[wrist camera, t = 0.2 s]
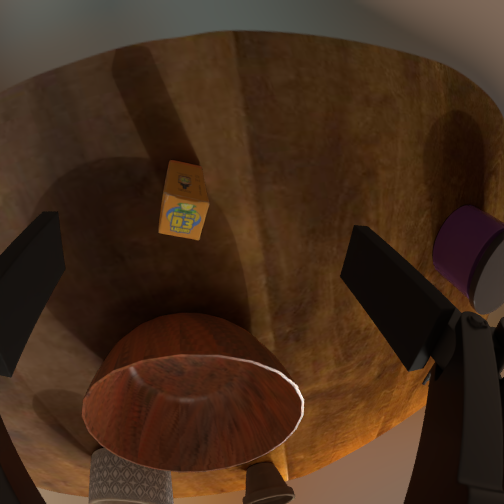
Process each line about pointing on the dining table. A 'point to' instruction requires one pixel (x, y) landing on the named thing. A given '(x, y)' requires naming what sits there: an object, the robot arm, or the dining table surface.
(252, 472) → the flower pot
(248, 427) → the bowl
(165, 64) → the dining table surface
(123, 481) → the planter
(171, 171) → the supplement box
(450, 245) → the jar
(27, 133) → the dining table surface
